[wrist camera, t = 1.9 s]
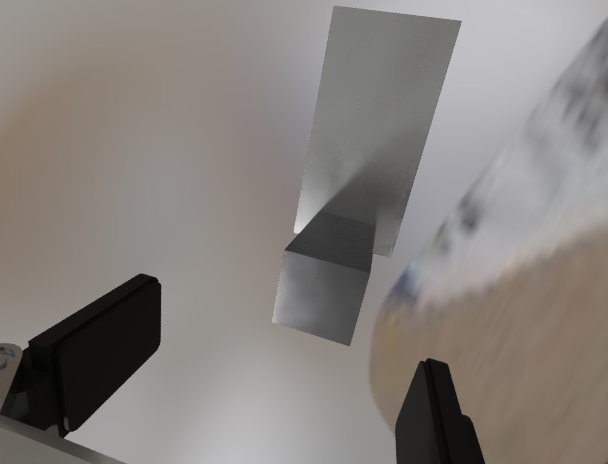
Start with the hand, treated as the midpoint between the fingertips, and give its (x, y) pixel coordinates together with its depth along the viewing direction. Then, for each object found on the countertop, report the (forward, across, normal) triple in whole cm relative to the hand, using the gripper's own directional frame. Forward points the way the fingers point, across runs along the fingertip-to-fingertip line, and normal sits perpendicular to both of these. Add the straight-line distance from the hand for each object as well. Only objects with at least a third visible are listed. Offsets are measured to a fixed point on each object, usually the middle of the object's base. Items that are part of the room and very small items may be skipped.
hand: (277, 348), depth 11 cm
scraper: (+13, -1, -6) cm, 15 cm away
